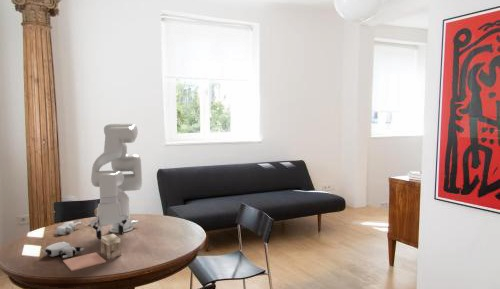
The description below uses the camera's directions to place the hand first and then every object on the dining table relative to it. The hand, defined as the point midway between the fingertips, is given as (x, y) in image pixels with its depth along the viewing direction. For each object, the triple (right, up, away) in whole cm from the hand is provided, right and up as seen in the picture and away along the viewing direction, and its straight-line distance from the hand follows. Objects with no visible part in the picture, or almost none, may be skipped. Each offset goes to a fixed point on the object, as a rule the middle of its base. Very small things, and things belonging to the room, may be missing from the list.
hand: (110, 236), depth 169 cm
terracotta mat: (-9, -9, -7) cm, 15 cm away
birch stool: (0, -9, +1) cm, 9 cm away
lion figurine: (-26, -5, +58) cm, 64 cm away
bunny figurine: (-38, -7, +36) cm, 53 cm away
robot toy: (-22, -9, +1) cm, 24 cm away
